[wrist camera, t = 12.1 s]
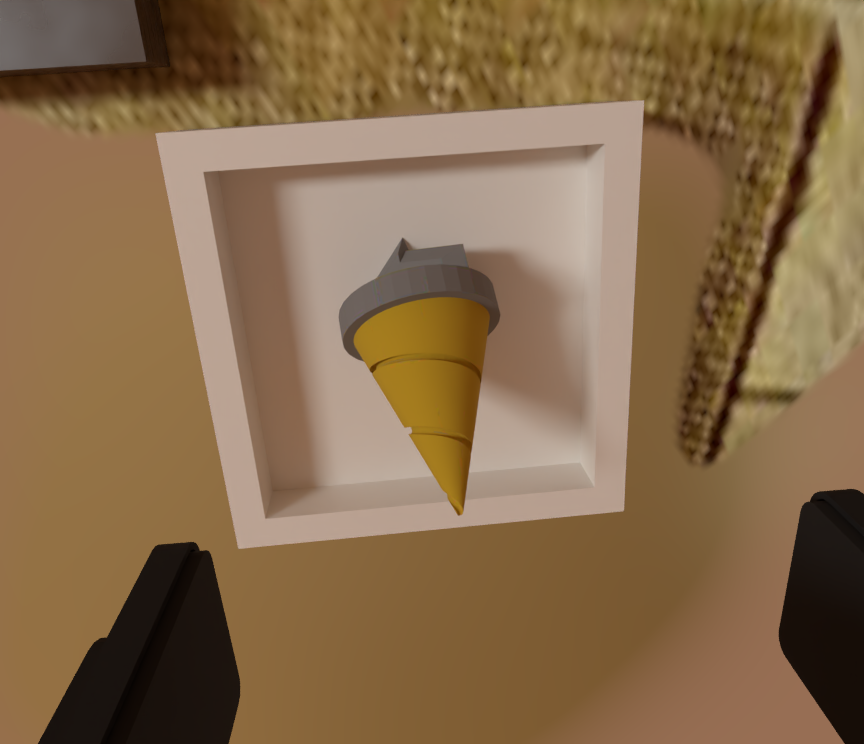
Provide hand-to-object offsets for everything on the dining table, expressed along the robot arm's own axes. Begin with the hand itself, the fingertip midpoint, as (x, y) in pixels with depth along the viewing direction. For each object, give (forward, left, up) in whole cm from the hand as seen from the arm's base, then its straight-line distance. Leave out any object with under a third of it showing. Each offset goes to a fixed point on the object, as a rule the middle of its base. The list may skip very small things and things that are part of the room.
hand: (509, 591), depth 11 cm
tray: (+1, +1, -17) cm, 17 cm away
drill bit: (0, 0, -16) cm, 16 cm away
